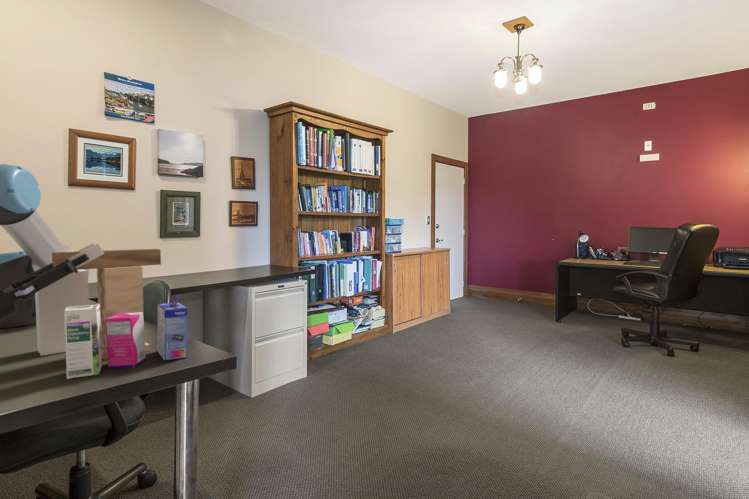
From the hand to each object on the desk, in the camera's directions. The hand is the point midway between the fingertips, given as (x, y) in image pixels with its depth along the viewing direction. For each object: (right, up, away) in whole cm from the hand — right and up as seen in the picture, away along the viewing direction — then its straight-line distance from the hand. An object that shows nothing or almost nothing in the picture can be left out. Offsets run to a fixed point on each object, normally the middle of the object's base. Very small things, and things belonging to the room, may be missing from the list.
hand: (98, 248), depth 99 cm
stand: (+3, -26, +5) cm, 27 cm away
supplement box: (+10, -27, -5) cm, 29 cm away
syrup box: (+5, -27, -11) cm, 30 cm away
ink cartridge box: (+17, -26, +2) cm, 32 cm away
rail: (+2, -5, +2) cm, 5 cm away
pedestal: (-13, -26, +6) cm, 29 cm away
